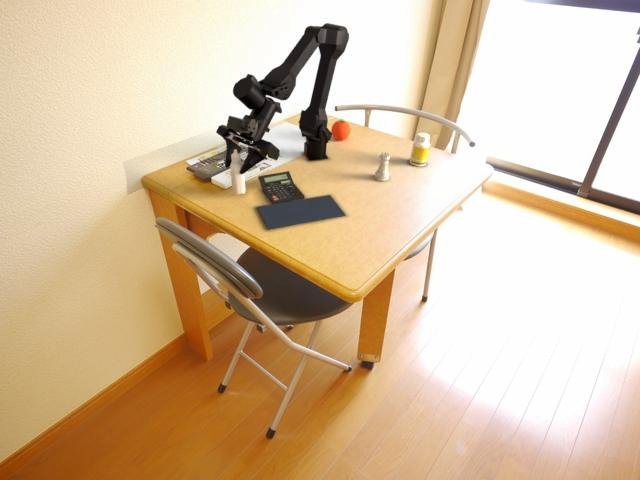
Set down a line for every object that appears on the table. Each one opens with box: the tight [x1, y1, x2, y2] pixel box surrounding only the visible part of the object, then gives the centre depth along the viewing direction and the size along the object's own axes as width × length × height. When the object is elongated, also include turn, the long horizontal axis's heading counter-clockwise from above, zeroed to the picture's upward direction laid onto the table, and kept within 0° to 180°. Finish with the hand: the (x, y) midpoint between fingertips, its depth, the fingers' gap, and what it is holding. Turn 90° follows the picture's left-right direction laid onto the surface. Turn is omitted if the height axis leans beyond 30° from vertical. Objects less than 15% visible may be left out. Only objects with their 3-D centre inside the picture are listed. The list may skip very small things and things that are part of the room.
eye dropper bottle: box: [229, 149, 246, 196], centre depth 109 cm, size 4×6×12 cm
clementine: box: [330, 119, 352, 141], centre depth 145 cm, size 8×7×7 cm
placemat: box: [256, 194, 346, 230], centre depth 107 cm, size 21×10×1 cm, turn 112°
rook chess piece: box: [374, 152, 391, 182], centre depth 122 cm, size 4×4×8 cm
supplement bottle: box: [409, 132, 431, 167], centre depth 132 cm, size 5×5×10 cm
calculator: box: [257, 170, 305, 204], centre depth 114 cm, size 9×12×3 cm
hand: (233, 170), depth 108 cm, fingers closed on eye dropper bottle, 5 cm apart
